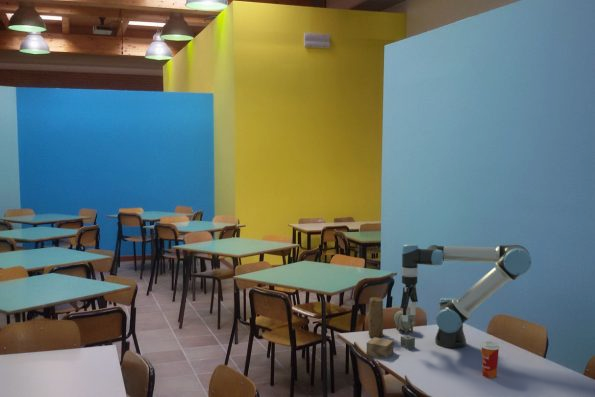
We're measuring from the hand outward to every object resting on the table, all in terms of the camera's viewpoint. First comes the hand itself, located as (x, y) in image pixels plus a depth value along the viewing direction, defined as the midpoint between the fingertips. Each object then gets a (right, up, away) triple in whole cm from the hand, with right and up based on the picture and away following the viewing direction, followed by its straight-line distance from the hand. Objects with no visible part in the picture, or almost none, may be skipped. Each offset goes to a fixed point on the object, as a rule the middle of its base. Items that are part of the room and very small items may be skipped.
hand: (409, 318), depth 279 cm
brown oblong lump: (-14, -14, +20) cm, 28 cm away
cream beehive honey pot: (+3, -13, +28) cm, 31 cm away
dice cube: (0, -15, +1) cm, 15 cm away
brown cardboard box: (-16, -15, -9) cm, 24 cm away
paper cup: (+27, -17, -36) cm, 49 cm away
